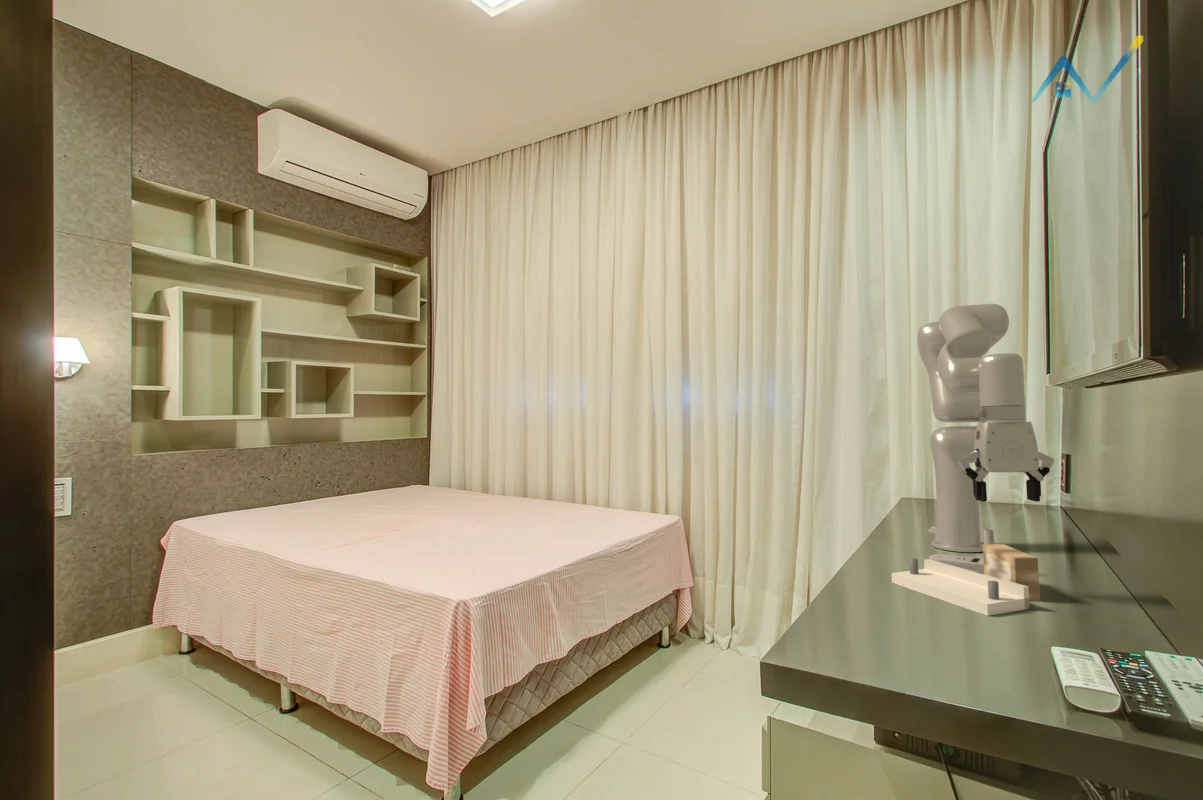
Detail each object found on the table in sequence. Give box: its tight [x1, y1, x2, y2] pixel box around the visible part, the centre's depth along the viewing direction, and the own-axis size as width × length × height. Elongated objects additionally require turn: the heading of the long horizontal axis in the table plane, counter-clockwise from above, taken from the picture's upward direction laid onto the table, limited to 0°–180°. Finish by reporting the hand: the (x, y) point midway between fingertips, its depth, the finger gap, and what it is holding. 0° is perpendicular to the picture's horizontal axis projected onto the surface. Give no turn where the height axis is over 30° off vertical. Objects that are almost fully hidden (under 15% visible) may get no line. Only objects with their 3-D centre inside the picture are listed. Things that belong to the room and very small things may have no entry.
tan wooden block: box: [982, 543, 1041, 601], centre depth 117 cm, size 12×4×8 cm, turn 172°
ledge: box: [891, 558, 1030, 617], centre depth 115 cm, size 22×10×5 cm, turn 17°
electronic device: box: [928, 528, 996, 574], centre depth 133 cm, size 5×10×15 cm
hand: (1007, 500), depth 117 cm, fingers open, 9 cm apart
